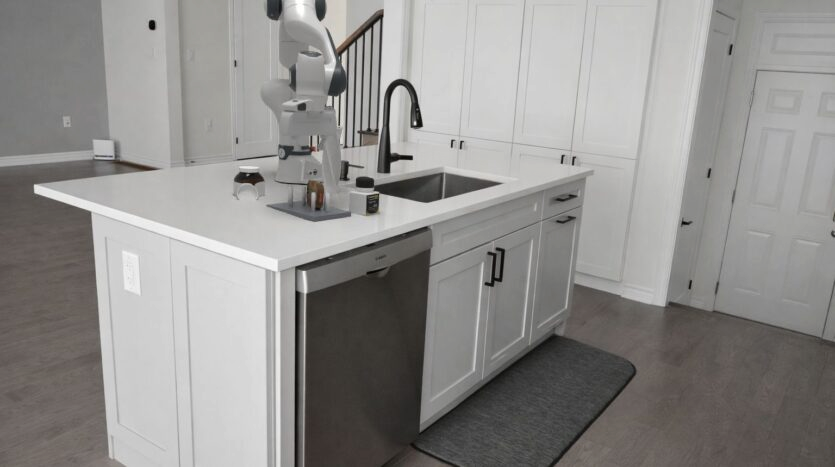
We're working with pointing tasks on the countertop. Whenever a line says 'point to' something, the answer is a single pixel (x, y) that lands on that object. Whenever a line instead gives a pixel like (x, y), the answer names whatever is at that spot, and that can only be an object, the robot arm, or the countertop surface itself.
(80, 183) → the countertop surface
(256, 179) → the spread jar
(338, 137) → the skyscraper
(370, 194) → the medicine bottle
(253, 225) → the countertop surface
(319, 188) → the tin
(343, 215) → the pin tray
